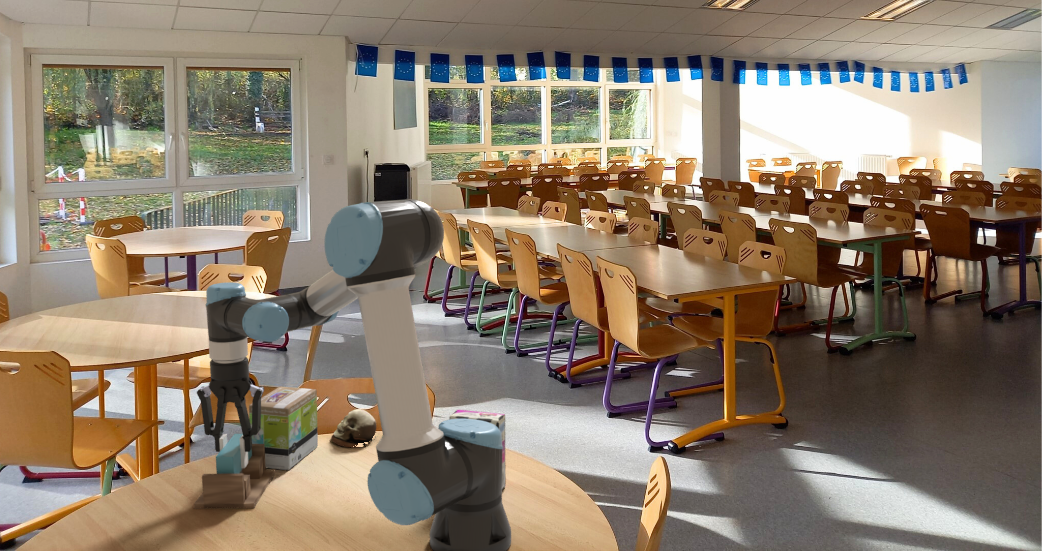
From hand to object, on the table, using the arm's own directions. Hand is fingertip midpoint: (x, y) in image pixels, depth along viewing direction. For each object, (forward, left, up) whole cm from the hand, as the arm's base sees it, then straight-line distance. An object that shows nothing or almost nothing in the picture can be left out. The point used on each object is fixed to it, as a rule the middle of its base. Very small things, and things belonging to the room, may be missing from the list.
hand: (234, 465), depth 180 cm
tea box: (+18, -6, -6) cm, 20 cm away
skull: (+29, -21, -6) cm, 36 cm away
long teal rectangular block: (0, 0, 0) cm, 1 cm away
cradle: (0, 0, -5) cm, 5 cm away
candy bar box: (0, -51, -6) cm, 51 cm away
